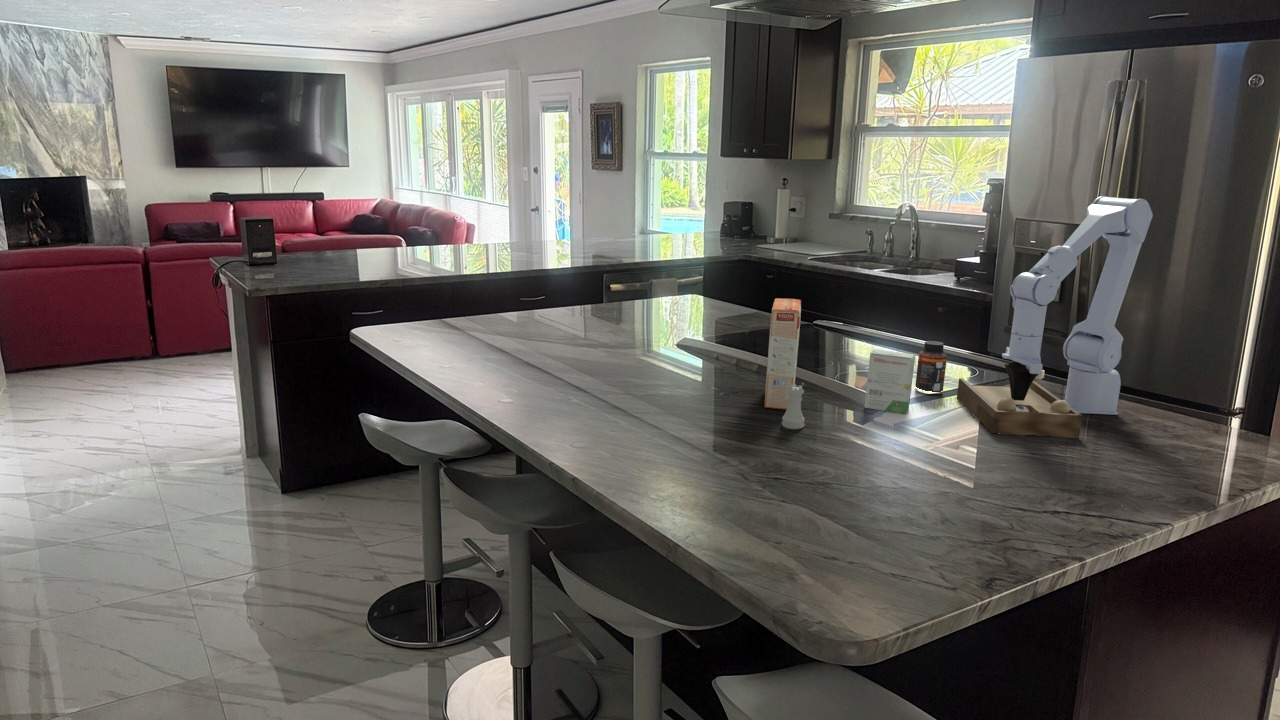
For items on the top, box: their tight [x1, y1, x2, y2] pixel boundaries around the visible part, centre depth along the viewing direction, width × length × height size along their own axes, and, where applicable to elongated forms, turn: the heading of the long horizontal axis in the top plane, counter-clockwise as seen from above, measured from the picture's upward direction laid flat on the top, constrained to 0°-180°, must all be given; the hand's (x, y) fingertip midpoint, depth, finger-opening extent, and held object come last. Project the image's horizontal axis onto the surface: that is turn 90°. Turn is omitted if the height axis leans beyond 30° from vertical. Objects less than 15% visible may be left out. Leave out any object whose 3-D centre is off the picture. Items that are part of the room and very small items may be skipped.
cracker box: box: [764, 297, 802, 411], centre depth 179 cm, size 14×6×21 cm, turn 168°
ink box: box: [864, 349, 916, 415], centre depth 177 cm, size 9×5×12 cm, turn 65°
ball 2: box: [1050, 399, 1070, 414], centre depth 164 cm, size 3×3×3 cm
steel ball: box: [1015, 406, 1030, 412], centre depth 171 cm, size 3×3×3 cm
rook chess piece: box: [781, 384, 805, 430], centre depth 164 cm, size 4×4×8 cm
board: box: [956, 377, 1083, 439], centre depth 174 cm, size 16×24×4 cm, turn 176°
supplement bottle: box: [914, 340, 948, 392], centre depth 190 cm, size 6×6×11 cm
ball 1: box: [997, 398, 1016, 411], centre depth 165 cm, size 3×3×3 cm
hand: (1017, 399), depth 173 cm, fingers closed
